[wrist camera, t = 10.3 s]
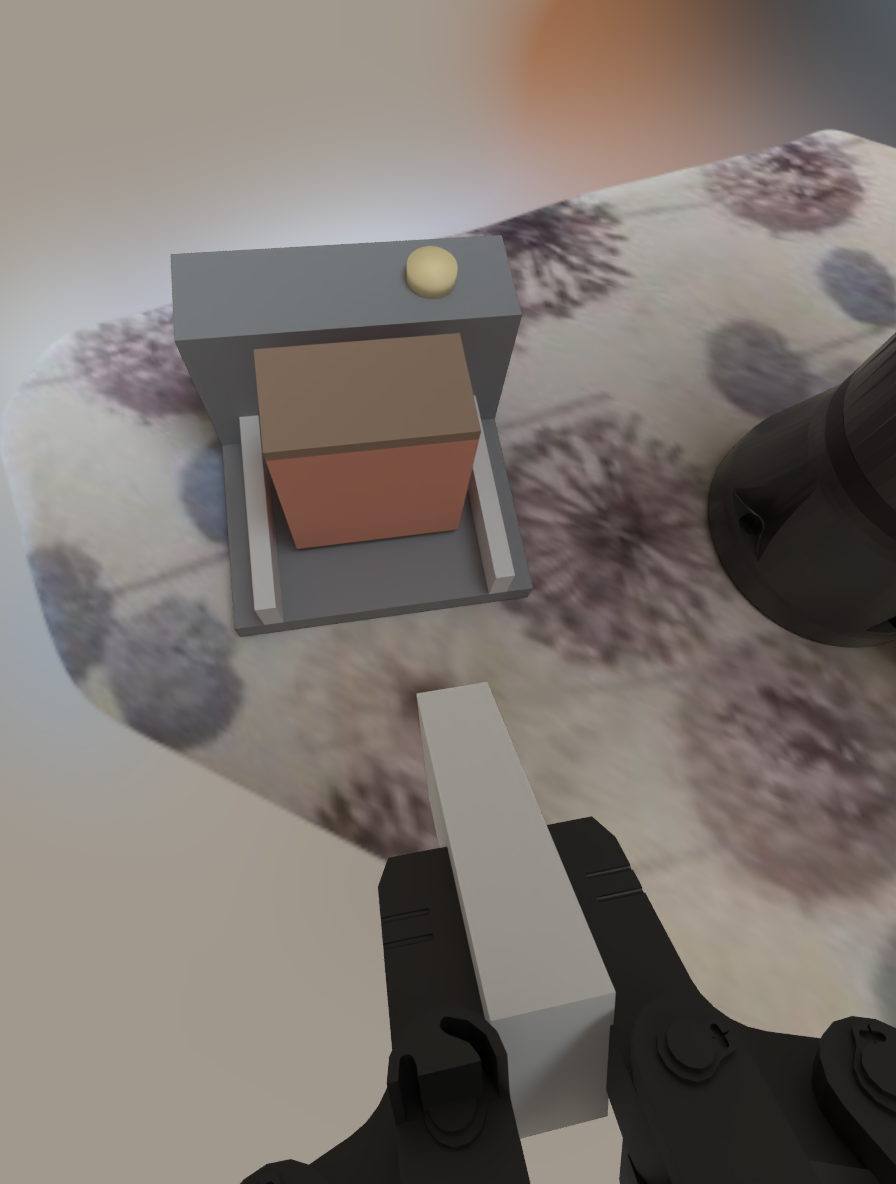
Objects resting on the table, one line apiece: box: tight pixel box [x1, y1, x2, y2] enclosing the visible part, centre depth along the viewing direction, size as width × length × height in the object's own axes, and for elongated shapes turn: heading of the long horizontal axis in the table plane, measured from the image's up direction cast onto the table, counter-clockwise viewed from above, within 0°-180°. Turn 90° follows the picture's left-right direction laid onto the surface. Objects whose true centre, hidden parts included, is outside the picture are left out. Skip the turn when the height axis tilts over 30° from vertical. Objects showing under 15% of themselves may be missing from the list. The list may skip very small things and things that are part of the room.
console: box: [171, 235, 533, 637], centre depth 33 cm, size 16×16×11 cm
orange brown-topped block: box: [254, 333, 481, 549], centre depth 31 cm, size 5×9×10 cm, turn 100°
